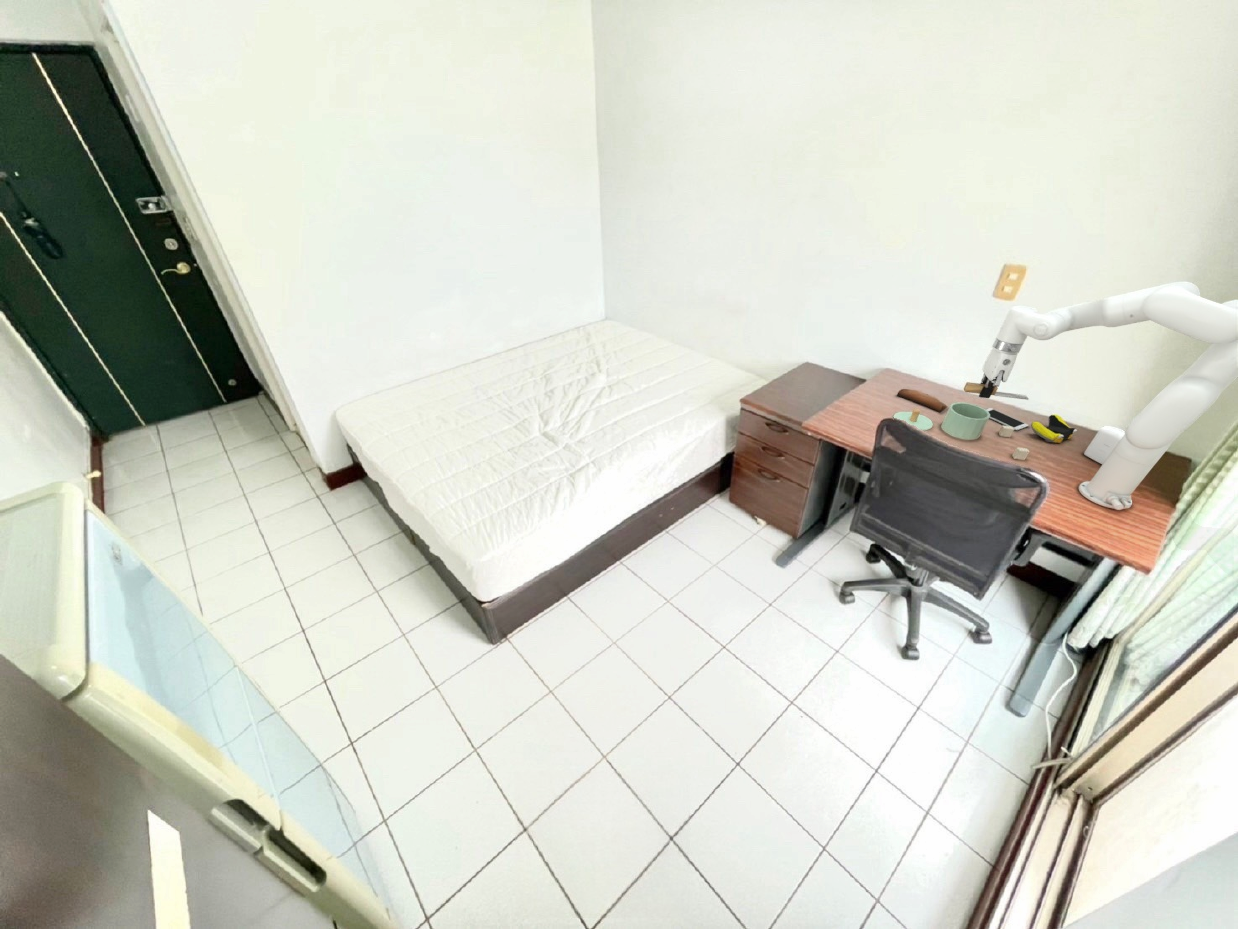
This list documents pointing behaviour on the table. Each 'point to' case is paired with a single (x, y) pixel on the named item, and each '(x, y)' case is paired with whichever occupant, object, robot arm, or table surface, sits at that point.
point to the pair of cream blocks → (1019, 452)
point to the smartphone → (1006, 419)
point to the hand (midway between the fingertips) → (982, 395)
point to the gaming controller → (1053, 430)
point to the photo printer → (1104, 443)
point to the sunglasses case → (922, 399)
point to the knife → (978, 387)
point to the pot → (965, 420)
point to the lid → (915, 419)
